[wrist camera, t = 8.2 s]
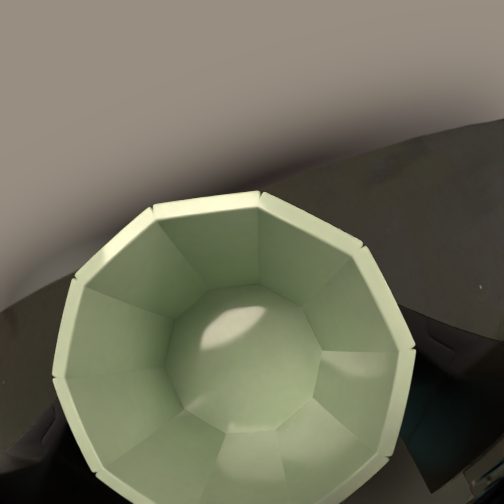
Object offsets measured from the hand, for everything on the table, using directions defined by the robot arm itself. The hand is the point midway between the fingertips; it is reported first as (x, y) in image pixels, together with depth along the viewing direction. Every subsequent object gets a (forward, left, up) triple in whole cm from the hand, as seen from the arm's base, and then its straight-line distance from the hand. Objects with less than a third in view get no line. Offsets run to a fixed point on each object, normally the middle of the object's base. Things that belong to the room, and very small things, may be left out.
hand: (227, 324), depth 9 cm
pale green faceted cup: (-1, +1, -3) cm, 3 cm away
